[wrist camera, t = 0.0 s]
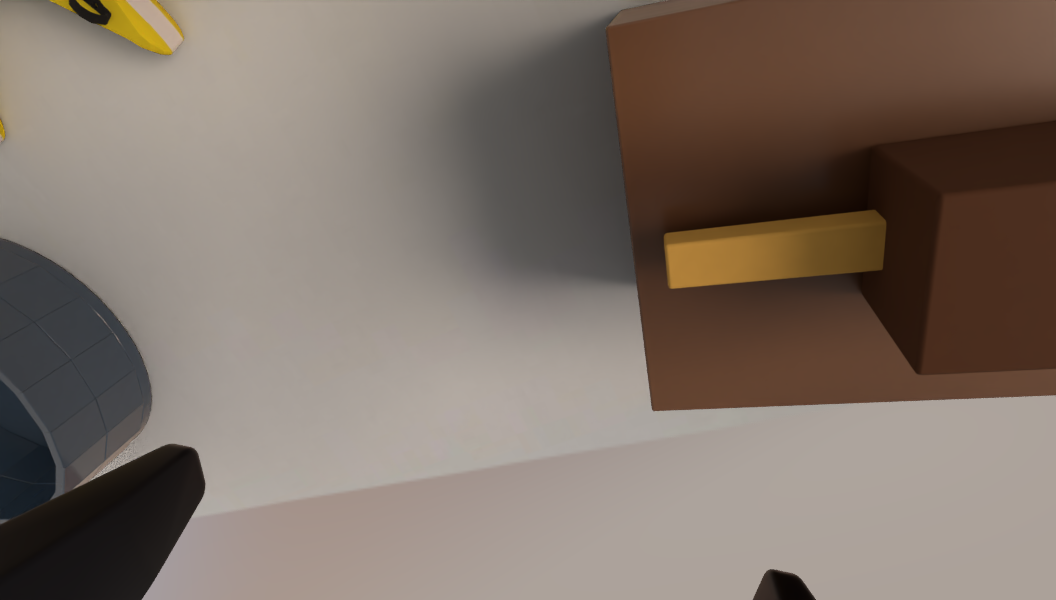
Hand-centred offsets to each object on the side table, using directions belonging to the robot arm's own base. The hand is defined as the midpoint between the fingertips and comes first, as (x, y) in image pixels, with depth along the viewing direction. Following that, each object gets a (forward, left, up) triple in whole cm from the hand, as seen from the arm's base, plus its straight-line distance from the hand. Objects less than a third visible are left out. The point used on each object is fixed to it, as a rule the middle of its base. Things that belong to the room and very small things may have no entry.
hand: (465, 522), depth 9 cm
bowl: (-3, +27, -13) cm, 30 cm away
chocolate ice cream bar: (+2, -8, -6) cm, 10 cm away
